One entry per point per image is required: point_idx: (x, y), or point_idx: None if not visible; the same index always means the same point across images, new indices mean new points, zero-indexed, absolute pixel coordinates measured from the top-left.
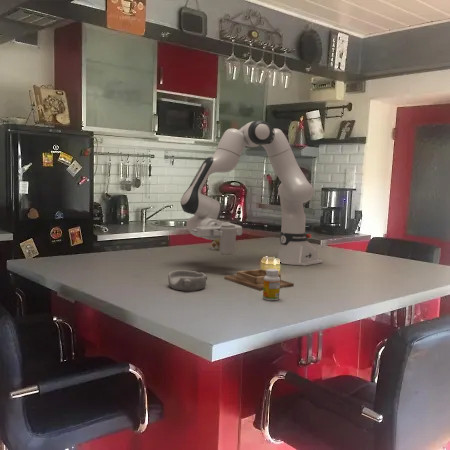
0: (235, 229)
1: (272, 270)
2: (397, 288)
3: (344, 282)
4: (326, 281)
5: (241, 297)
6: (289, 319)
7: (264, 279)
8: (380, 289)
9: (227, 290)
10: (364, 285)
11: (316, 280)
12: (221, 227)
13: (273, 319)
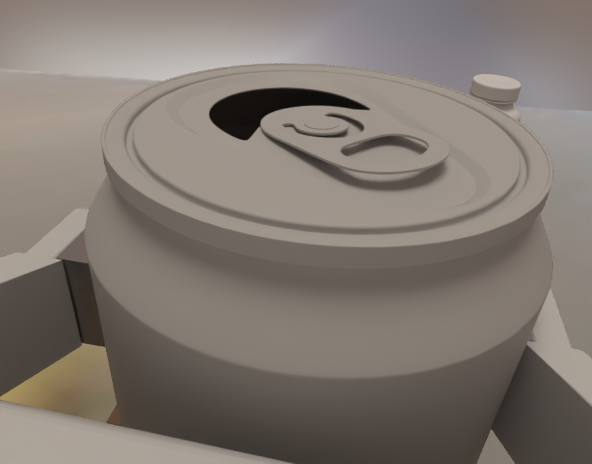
0: (247, 138)
1: (502, 79)
2: (15, 91)
3: (9, 157)
4: (32, 186)
5: (570, 224)
6: (541, 117)
7: (519, 121)
8: (63, 102)
9: (585, 300)
10: (26, 125)
11: (36, 207)
12: (541, 232)
13: (580, 127)
